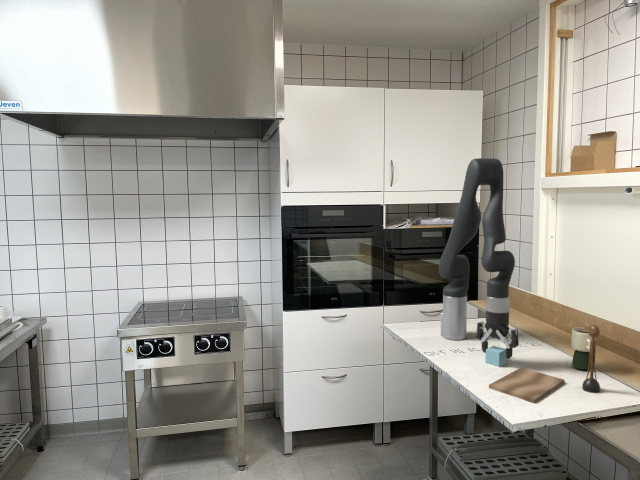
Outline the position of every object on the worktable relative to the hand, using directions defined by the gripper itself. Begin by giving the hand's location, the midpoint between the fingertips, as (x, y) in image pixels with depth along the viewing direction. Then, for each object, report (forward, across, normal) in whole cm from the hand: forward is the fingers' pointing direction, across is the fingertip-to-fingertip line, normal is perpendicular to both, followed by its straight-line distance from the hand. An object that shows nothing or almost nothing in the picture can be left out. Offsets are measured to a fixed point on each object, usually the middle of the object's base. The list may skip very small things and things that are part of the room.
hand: (496, 355), depth 168 cm
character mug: (+3, +22, +16) cm, 27 cm away
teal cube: (+3, 0, 0) cm, 3 cm away
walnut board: (+3, +16, -10) cm, 19 cm away
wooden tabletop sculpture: (+3, +30, +1) cm, 30 cm away
